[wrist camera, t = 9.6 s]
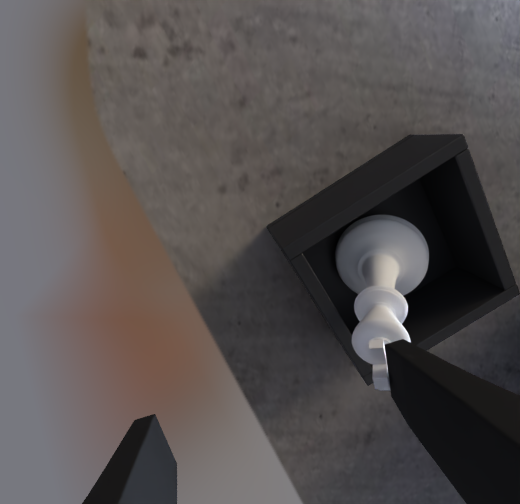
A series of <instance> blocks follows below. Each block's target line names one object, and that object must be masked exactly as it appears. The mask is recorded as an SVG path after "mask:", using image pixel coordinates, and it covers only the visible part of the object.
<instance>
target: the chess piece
mask: <svg viewBox="0 0 520 504" xmlns="http://www.w3.org/2000/svg"><path fill="white" fill-rule="evenodd" d="M335 260H336V267H337V271H338V273H339V276H340V277H341V279H342V281H343V282H344V283H345V284H346V285H347V286H348V287H349V288H350V289H351V290H352V291H354V292H355V293H357V294H358V296H357V297H356V299H355V302H354V311H355V314H356V316H357V318H358V320H359V321H360V322H359V323H358V325H357V326H356V328H355V329H354V331H353V334H352V345H353V348H354V350H355V352H356V353H357V355H358V356H359V357H360V358H362V359H363V360H364V361H366V362H368V363H370V364H373V376H372V378H373V383H374V387H375V389H379V391H391V390H390V383H389V375H388V368H387V360H386V353H385V344H388V343H391V342H394V341H398V340H401V339H404V340H406V341H408V342H410V343H411V340H410V337H409V334H408V332H407V331H406V329H405V328H404V326H403V325H402V323H403V322H404V320H405V318H406V316H407V313H408V305H407V302H406V300H405V298H404V297H403V296H404V295H406V294H408V293H409V292H411V291H412V290H414V289H415V288H416V287H417V286H418V285H419V284H420V283H421V281H422V280H423V278H424V276H425V274H426V272H427V269H428V263H429V250H428V245H427V242H426V240H425V238H424V236H423V235H422V233H421V232H420V231H419V230H418V229H417V228H416V227H415V226H414V225H413V224H411V223H410V222H408V221H406V220H404V219H402V218H399V217H396V216H392V215H372V216H368V217H365V218H362V219H360V220H358V221H356V222H354V223H353V224H351V225H350V226H349V227H348V228H347V229H346V230H345V231H344V232H343V233H342V235H341V237H340V238H339V240H338V243H337V246H336V251H335Z"/></svg>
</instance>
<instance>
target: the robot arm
mask: <svg viewBox="0 0 520 504" xmlns="http://www.w3.org/2000/svg"><path fill="white" fill-rule="evenodd" d="M385 353H386V360H387V368H388V375H389V383H390V390H391V396H392V398H393V400H394V402H395V403H396V405H397V407H398V409H399V410H400V412H401V414H402V416H403V417H404V419H405V421H406V422H407V424H408V426H409V427H410V429H411V430H412V431H413V433H414V434H415V435H416V437H417V438H418V439H419V441H420V442H421V443H422V445H423V446H424V448H425V449H426V450H427V452H428V453H429V454H430V456H431V457H432V458H433V460H434V461H435V462H436V464H437V465H438V466H439V468H440V469H441V470H442V472H443V473H444V474H445V476H446V477H447V478H448V480H449V481H450V482H451V484H452V485H453V486H454V488H455V489H456V490H457V492H458V493H459V494H460V496H461V497H462V498H463V500H464V501H465V502H466V504H520V395H518V394H515V393H513V392H511V391H508V390H506V389H504V388H502V387H499V386H497V385H495V384H492V383H490V382H488V381H486V380H484V379H481V378H479V377H477V376H475V375H473V374H471V373H469V372H467V371H465V370H463V369H460V368H458V367H456V366H454V365H452V364H450V363H448V362H447V361H445V360H443V359H441V358H439V357H437V356H435V355H433V354H431V353H429V352H427V351H425V350H423V349H422V348H420V347H418V346H416V345H414V344H412V343H410V342H408V341H406V340H404V339H401V340H398V341H394V342H391V343H388V344H385ZM82 504H177V463H176V461H175V459H174V456H173V454H172V452H171V449H170V447H169V445H168V443H167V440H166V438H165V436H164V434H163V431H162V429H161V427H160V425H159V422H158V420H157V418H156V415H155V414H154V415H150V416H147V417H143V418H140V419H137V420H135V421H134V422H133V424H132V425H131V427H130V429H129V430H128V432H127V433H126V435H125V437H124V438H123V440H122V441H121V443H120V445H119V447H118V448H117V450H116V451H115V453H114V455H113V456H112V458H111V459H110V461H109V463H108V464H107V466H106V468H105V469H104V471H103V472H102V474H101V475H100V477H99V479H98V480H97V482H96V483H95V485H94V487H93V488H92V490H91V491H90V493H89V494H88V496H87V497H86V499H85V500H84V502H83V503H82Z"/></svg>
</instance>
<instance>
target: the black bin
mask: <svg viewBox="0 0 520 504" xmlns="http://www.w3.org/2000/svg"><path fill="white" fill-rule="evenodd" d="M372 215H392V216H396V217H399V218H402V219H404V220H406V221H408V222H410V223H411V224H413V225H414V226H415V227H416V228H417V229H418V230H419V231H420V232H421V233H422V235H423V236H424V238H425V240H426V242H427V245H428V250H429V263H428V269H427V272H426V274H425V276H424V278H423V280H422V281H421V283H420V284H419V285H418V286H417V287H416V288H415V289H414V290H412V291H411V292H409V293H408V294H406V295H404V296H403V297H404V298H405V300H406V302H407V305H408V313H407V316H406V318H405V320H404V322H403V323H402V325H403V326H404V328H405V329H406V331H407V332H408V334H409V337H410V340H411V343H412V344H414V345H416V346H418V347H420V348H422V349H423V350H425V351H427V350H428V349H430V348H431V347H433V346H435V345H436V344H438V343H440V342H441V341H443V340H445V339H446V338H448V337H450V336H451V335H453V334H455V333H456V332H458V331H460V330H461V329H463V328H464V327H466V326H468V325H469V324H471V323H473V322H474V321H476V320H478V319H479V318H481V317H483V316H484V315H486V314H488V313H489V312H491V311H492V310H494V309H496V308H497V307H499V306H501V305H502V304H504V303H506V302H507V301H509V300H511V299H512V298H514V297H516V296H517V295H519V294H520V293H519V290H518V287H517V285H516V282H515V279H514V276H513V273H512V271H511V268H510V265H509V262H508V259H507V256H506V253H505V251H504V248H503V245H502V242H501V239H500V236H499V234H498V231H497V228H496V225H495V222H494V219H493V217H492V214H491V211H490V208H489V205H488V202H487V200H486V197H485V194H484V191H483V188H482V185H481V183H480V180H479V177H478V174H477V171H476V168H475V165H474V163H473V160H472V157H471V154H470V151H469V149H468V145H467V142H466V140H465V137H464V135H463V134H440V135H408V136H407V137H405V138H404V139H402V140H401V141H399V142H397V143H396V144H394V145H393V146H391V147H390V148H388V149H387V150H385V151H383V152H382V153H380V154H379V155H377V156H376V157H374V158H372V159H371V160H369V161H368V162H366V163H365V164H363V165H361V166H360V167H358V168H357V169H355V170H354V171H352V172H350V173H349V174H347V175H346V176H344V177H343V178H341V179H340V180H338V181H336V182H335V183H333V184H332V185H330V186H329V187H327V188H325V189H324V190H322V191H321V192H319V193H318V194H316V195H314V196H313V197H311V198H310V199H308V200H307V201H305V202H304V203H302V204H300V205H299V206H297V207H296V208H294V209H293V210H291V211H289V212H288V213H286V214H285V215H283V216H282V217H280V218H278V219H277V220H275V221H274V222H272V223H271V224H269V225H267V229H268V230H269V232H270V233H271V235H272V237H273V238H274V240H275V241H276V243H277V245H278V246H279V248H280V249H281V251H282V252H283V254H284V256H285V257H286V259H287V260H288V262H289V264H290V265H291V267H292V268H293V270H294V271H295V273H296V275H297V276H298V278H299V279H300V281H301V283H302V284H303V286H304V287H305V289H306V291H307V292H308V294H309V295H310V297H311V298H312V300H313V302H314V303H315V305H316V306H317V308H318V310H319V311H320V313H321V314H322V316H323V318H324V319H325V321H326V322H327V324H328V325H329V327H330V329H331V330H332V332H333V333H334V335H335V337H336V338H337V340H338V341H339V343H340V344H341V346H342V347H343V349H344V351H345V352H346V354H347V355H348V357H349V358H350V360H351V361H352V363H353V364H354V366H355V367H356V369H357V370H358V372H359V373H360V375H361V377H362V378H363V380H364V381H365V383H366V384H367V385H368V386H369V385H370V384H372V383H373V378H372V376H373V364H370V363H368V362H366V361H364V360H363V359H362V358H360V357H359V356H358V355H357V353H356V352H355V350H354V348H353V345H352V334H353V331H354V329H355V328H356V326H357V325H358V323H359V322H360V321H359V320H358V318H357V316H356V314H355V311H354V302H355V299H356V297H357V296H358V294H357V293H355V292H354V291H352V290H351V289H350V288H349V287H348V286H347V285H346V284H345V283H344V282H343V281H342V279H341V277H340V276H339V273H338V271H337V267H336V260H335V251H336V246H337V243H338V240H339V238H340V237H341V235H342V233H343V232H344V231H345V230H346V229H347V228H348V227H349V226H350V225H351V224H353V223H354V222H356V221H358V220H360V219H362V218H365V217H368V216H372Z"/></svg>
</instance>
